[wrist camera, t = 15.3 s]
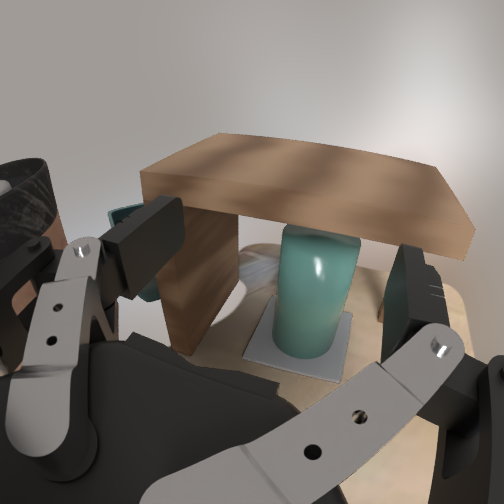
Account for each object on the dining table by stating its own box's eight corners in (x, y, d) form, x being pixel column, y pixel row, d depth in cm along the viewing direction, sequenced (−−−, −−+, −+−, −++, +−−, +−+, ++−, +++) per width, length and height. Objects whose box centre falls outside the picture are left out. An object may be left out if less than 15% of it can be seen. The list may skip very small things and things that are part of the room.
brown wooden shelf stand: (172, 349, 28) (139, 171, 19) (222, 277, 38) (218, 133, 28) (385, 406, 23) (475, 229, 13) (390, 314, 32) (435, 166, 23)
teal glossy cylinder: (263, 348, 28) (271, 247, 22) (282, 306, 33) (293, 211, 26) (326, 366, 26) (357, 267, 20) (338, 321, 31) (363, 227, 25)
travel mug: (132, 378, 25) (62, 147, 14) (147, 454, 19) (21, 199, 8) (57, 389, 22) (-43, 179, 12) (59, 463, 16) (-109, 244, 6)
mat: (242, 358, 27) (242, 356, 27) (271, 298, 35) (271, 295, 34) (339, 383, 25) (340, 381, 25) (351, 316, 32) (352, 313, 32)
